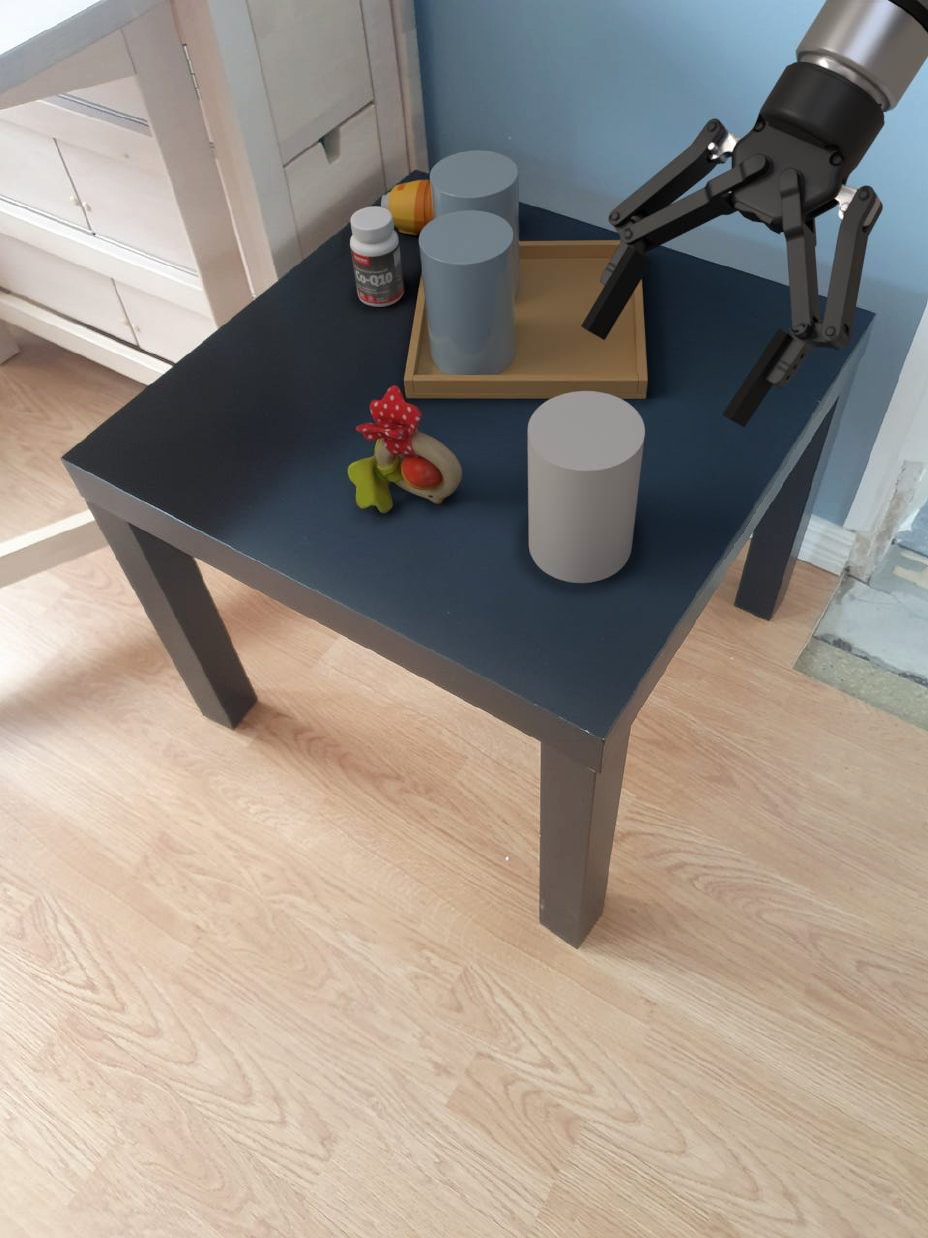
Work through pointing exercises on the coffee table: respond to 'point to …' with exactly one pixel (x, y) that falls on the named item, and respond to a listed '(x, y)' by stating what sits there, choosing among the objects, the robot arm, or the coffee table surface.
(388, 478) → the bird rattle
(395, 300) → the pill bottle
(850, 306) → the robot arm
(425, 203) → the toy figure
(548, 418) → the light grey cylinder
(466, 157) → the grey-blue cylinder
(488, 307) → the slate blue cylinder
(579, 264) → the tray
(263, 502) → the coffee table surface
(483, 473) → the coffee table surface
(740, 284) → the coffee table surface
